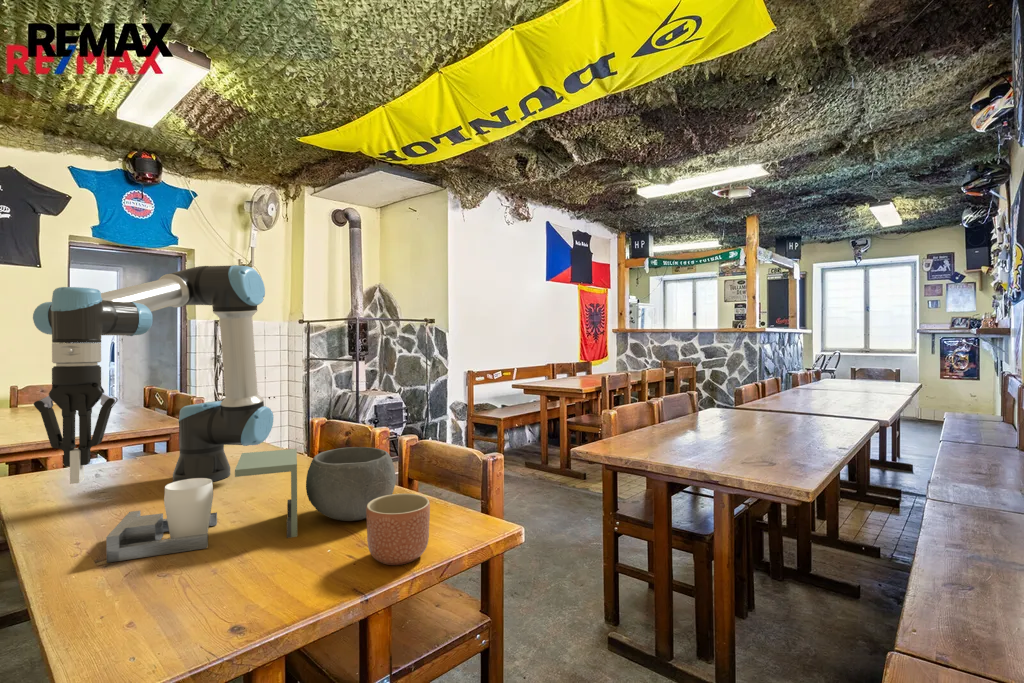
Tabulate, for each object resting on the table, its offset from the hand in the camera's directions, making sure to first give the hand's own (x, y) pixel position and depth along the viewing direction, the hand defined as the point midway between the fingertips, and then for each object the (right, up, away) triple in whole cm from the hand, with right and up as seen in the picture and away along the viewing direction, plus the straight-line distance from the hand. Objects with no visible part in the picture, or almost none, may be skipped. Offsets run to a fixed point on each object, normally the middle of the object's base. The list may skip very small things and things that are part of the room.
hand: (77, 481), depth 101 cm
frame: (+13, -15, +6) cm, 20 cm away
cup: (+17, -15, +8) cm, 24 cm away
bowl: (+48, -15, +23) cm, 55 cm away
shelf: (+31, -15, +14) cm, 37 cm away
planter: (+65, -15, -1) cm, 67 cm away
